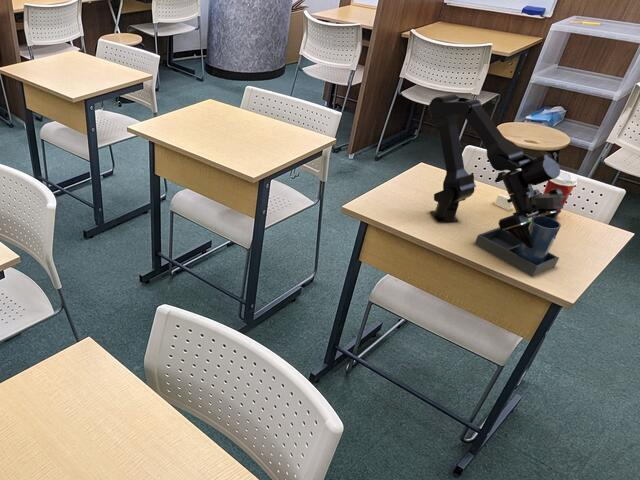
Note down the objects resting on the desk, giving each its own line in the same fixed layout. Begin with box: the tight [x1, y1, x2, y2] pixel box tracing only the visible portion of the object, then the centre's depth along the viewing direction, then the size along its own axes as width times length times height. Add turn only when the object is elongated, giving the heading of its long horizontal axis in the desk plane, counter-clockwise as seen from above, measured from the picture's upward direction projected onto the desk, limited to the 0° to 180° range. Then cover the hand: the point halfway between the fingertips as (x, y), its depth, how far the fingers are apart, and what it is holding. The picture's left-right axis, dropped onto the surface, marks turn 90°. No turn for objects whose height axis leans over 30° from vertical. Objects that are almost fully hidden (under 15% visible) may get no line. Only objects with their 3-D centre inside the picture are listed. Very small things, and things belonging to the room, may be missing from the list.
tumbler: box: [516, 216, 562, 265], centre depth 151 cm, size 7×7×13 cm
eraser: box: [494, 193, 513, 211], centre depth 180 cm, size 1×5×4 cm, turn 32°
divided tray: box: [474, 226, 560, 278], centre depth 157 cm, size 18×10×3 cm, turn 26°
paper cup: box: [542, 171, 578, 212], centre depth 172 cm, size 8×8×14 cm
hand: (542, 243), depth 149 cm, fingers open, 9 cm apart
